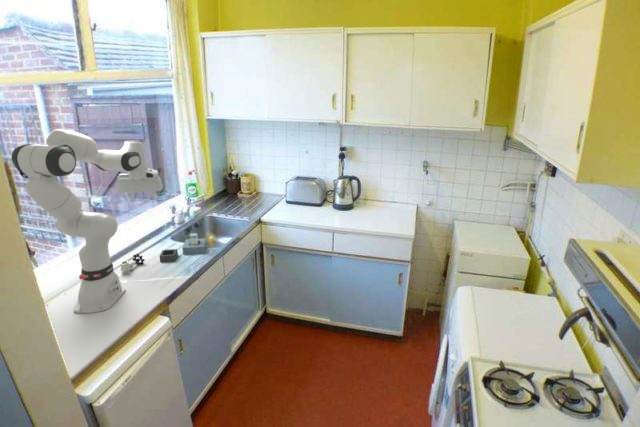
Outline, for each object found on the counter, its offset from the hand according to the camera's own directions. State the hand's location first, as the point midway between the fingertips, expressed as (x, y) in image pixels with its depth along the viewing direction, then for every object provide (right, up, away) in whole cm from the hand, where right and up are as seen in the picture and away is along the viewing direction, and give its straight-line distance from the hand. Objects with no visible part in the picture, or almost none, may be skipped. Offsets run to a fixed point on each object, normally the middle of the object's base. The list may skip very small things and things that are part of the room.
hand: (143, 200), depth 195 cm
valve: (-6, -36, 0) cm, 36 cm away
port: (+20, -28, +20) cm, 40 cm away
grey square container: (+9, -32, +10) cm, 34 cm away
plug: (+20, -27, +20) cm, 39 cm away
